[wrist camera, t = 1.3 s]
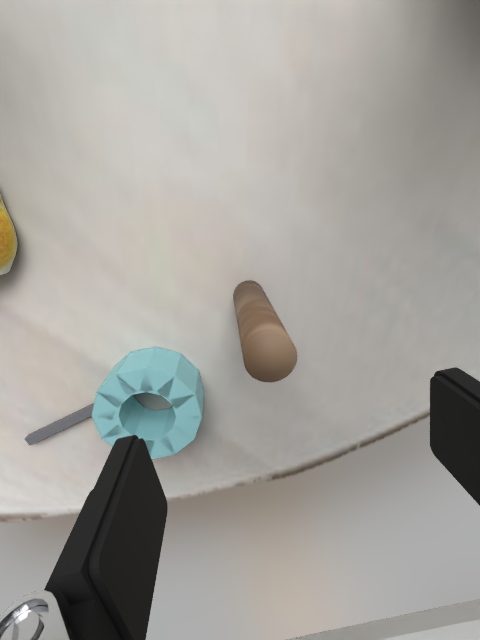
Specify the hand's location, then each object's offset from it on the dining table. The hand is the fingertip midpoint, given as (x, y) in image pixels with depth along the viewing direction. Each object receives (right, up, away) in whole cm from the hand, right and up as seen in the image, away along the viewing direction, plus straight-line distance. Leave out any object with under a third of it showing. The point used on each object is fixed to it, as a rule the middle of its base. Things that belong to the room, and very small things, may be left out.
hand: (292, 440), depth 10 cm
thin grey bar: (-18, -6, +19) cm, 27 cm away
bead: (-9, -3, +19) cm, 21 cm away
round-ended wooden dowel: (-1, +6, +16) cm, 17 cm away
